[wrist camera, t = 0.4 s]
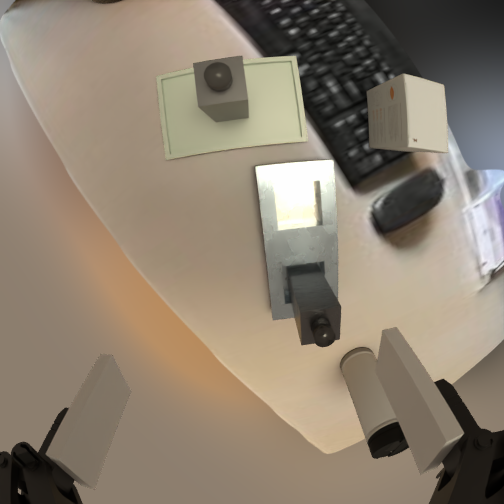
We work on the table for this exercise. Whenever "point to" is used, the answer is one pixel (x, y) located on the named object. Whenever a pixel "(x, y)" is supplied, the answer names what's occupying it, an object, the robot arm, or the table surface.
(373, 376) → the travel mug
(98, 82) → the table surface
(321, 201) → the grey stand
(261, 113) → the tray
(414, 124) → the small box
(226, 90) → the plug
